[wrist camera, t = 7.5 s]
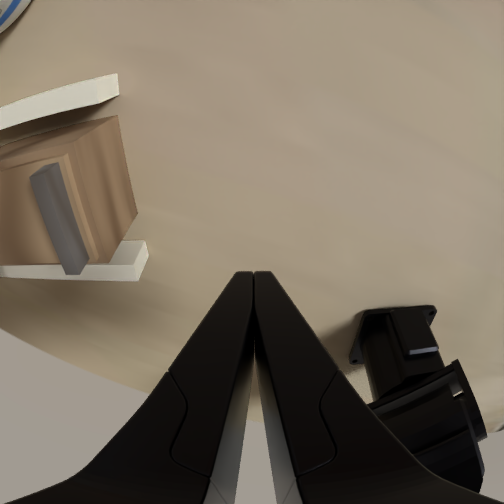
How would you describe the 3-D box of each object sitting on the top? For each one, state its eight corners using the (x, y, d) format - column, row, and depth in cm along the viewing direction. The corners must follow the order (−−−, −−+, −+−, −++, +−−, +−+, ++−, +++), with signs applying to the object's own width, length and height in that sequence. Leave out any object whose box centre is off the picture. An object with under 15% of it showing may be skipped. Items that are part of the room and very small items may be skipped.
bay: (117, 73, 13) (95, 78, 11) (148, 255, 20) (138, 281, 18) (-30, 120, 13) (-54, 132, 11) (13, 256, 20) (-2, 276, 18)
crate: (118, 114, 15) (53, 156, 9) (138, 211, 18) (97, 285, 13) (4, 144, 15) (-64, 191, 10) (29, 222, 19) (-22, 282, 13)
